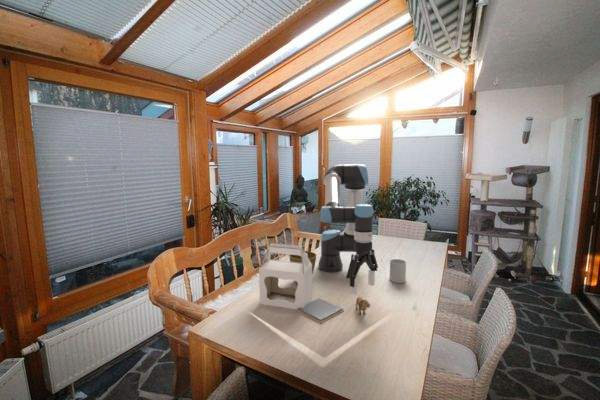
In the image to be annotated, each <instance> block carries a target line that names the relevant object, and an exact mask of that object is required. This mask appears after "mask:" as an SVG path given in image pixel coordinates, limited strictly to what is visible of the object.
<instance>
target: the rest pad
mask: <svg viewBox="0 0 600 400" xmlns="http://www.w3.org/2000/svg"><path fill="white" fill-rule="evenodd" d="M295 311H296V312H297V313H300V314H301V315H303V316H306V317H307V318H309V319H311V320H313V321H315V322H317V323H319V324H323V323H324V322H326V321H328V320H330V319H332V318H334V317H336V316H337V315H339V314H342V313H343V312H344V311H345V309H344V308H342V307H341V306H338V305H335V304H333V303H330V302H328V301H326V300H323V299H322V298H316V299H315V300H312V301H310V302H309V303H308V304H306V306H305V307H304V308H301V307H299V308H298V309H295Z"/></svg>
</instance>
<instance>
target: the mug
mask: <svg viewBox="0 0 600 400" xmlns="http://www.w3.org/2000/svg"><path fill="white" fill-rule="evenodd" d="M406 272H407V262H406V260H404V259H399V258H397V259H396V258H393V259H391V260H389V281H390V282H392V283H394V284H395V283H396V284H404V283H406V278H407V277H406V275H407V273H406Z"/></svg>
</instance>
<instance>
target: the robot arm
mask: <svg viewBox="0 0 600 400" xmlns="http://www.w3.org/2000/svg"><path fill="white" fill-rule="evenodd" d="M323 184H324V186H325V187H324V189H325V190H324V192H325V193H324V206H321V208H320V221H321V223H328V224H346V227H345V228H344V229H343V232H341V230H340V229H329V230H325V231H323V232H322V233H321V236H320V245H321V246H320V247H321V248H320V250H321V251H320V253H321V254H320V258H319V261H318V264H317V265H318V269H319V270H320V271H324V272H330V273H331V272H338V271H342V269H343V265H344V264H343V261H342V259H341V252H342V253H345V252H346V253H352V254H351V257H350V263H349V266H348V269H347V272H346V277H345V278H346V279H349V293H350V294H352V295H355V296H357V293H358V292H357V291H358V290H357V289H358V288H357V287H358V286H357V285H358V282H357V281H358V279H357V278H356V277H357V276H358V273H359V271H360V268H361V267H362V266H363V264H364V263H366V265H367V267H368V270H367V272H368V276H367V277H368V278H367V279H368V281H367V282H368V283H367V284H368V285H369V286H373V287H374V286H375V275H376V273H375V272H377V271H378V268H379V265H378V262H377V258H376V255H375V249H373V226H374V225H373V222H374V221H373V219H374V216H373V215H374V210H373V209H374V208H373V205H372V204H368V203H367V204H366V203H363V191H364V190H365V189H366V186H367V185H369V174H368V169H367V165H365V164H362V163H361V164H360V163H351V164H350V163H348V164H340V163H339V164H335V165H333V166H331V167H329V168H328V170H327V171H326V172H325V173H324V175H323ZM340 185H341V186H344V189H345V190H346V191H347V192H346V193H347V195H346V206H341V191H340V190H341V189H340ZM353 253H355V254H353Z"/></svg>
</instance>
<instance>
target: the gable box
mask: <svg viewBox="0 0 600 400" xmlns="http://www.w3.org/2000/svg"><path fill="white" fill-rule="evenodd" d="M303 251H304V250H303V246H302V245H299V244H290V243H289V244H285V243H274V242H272V243H271V242H270V244H269V246H268V249H266V248H264V257H263V259H262V261H261V263H260V266H259V269H258V276H259V277H258V279H259V286H258V287H259V305H265V306H271V307H279V308H285V309H290V310H296V309H298V308H299V307H301V308H304V307H305V306H306V304H308V303H310V302H312V301H311V300H312V299H313V274H312V264H311V262H310V260H309V258H308V253H305V252H303ZM272 254H281V255H289V254H291V255H298V256H301V257H302V263H296V262H290V261H285V260H276V259H272V257H271V256H272ZM279 279H280V280H284V281H285V280H292V281H295V282H296V281H297V283H296V284H297V286H296V288H294V287H280V286H279ZM271 293H277V294H280V295H288V296H294V297H295V301H293V302H291V301H288V300H286V299H282V298H274V299H270V298H269V297H268V296H269V295H270V294H271Z"/></svg>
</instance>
